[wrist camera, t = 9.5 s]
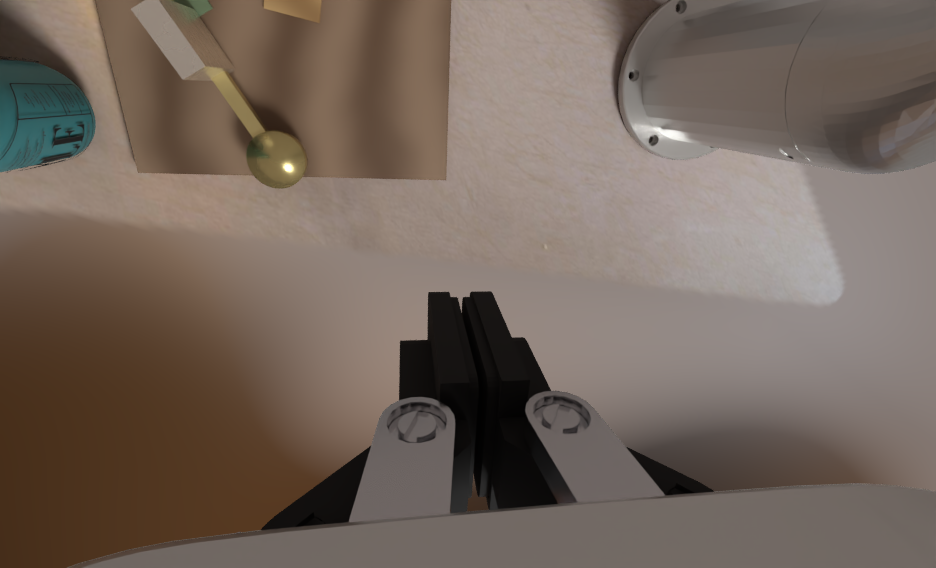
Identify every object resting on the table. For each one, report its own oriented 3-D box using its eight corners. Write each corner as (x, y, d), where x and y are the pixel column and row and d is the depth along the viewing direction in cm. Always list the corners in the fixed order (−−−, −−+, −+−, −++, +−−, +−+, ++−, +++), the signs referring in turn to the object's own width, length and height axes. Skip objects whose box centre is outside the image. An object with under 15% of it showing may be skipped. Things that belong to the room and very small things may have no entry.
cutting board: (449, -5, 32) (452, -11, 30) (445, 177, 37) (447, 182, 35) (95, -35, 28) (74, -43, 27) (145, 170, 34) (130, 175, 32)
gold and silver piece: (320, 167, 34) (307, 180, 29) (276, 193, 34) (256, 209, 30) (185, -37, 28) (142, -61, 23) (134, -4, 28) (81, -22, 24)
